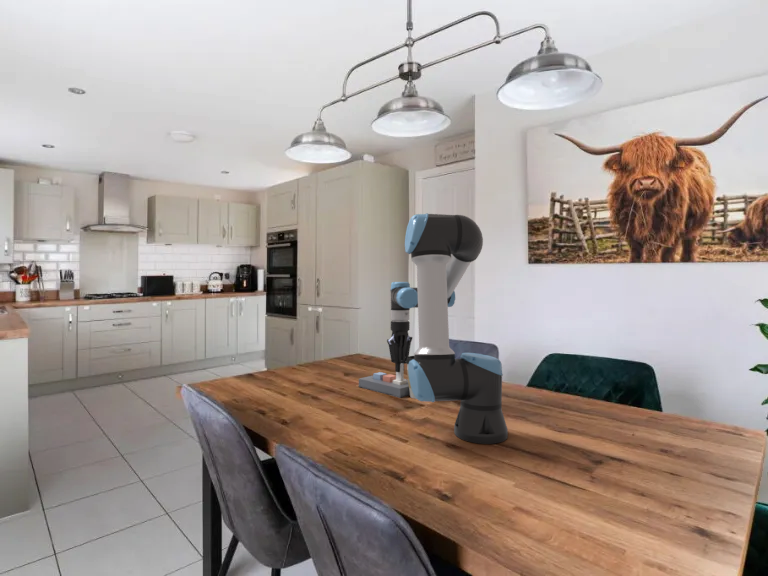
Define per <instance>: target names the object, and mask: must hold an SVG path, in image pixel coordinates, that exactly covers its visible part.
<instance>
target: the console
mask: <svg viewBox="0 0 768 576" xmlns="http://www.w3.org/2000/svg"><path fill="white" fill-rule="evenodd" d="M404 380H407V383H406V384H403V385H398V384H393V382H391V383H389V382H385V381H383V380H377V379H373V375H369V376H364V377H361V378H358V388H360V389H361V388H362V389H365V390H369V391H373V392H376V393H380V394H384V395H388V396H392V397H395V398H398V399H401V398H404V397H407V396H410V390H409V384H408V378H407V379H406V378H404Z"/></svg>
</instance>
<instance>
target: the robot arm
mask: <svg viewBox="0 0 768 576" xmlns="http://www.w3.org/2000/svg"><path fill="white" fill-rule="evenodd" d="M483 245H484V238H483V234H482V231H481V229H480V227H479V225H478V224H477V223H476V221H474V220H473V219H472V218H470V217H468V216H466V215H463V214H439V213H420V214H419V213H418V214H414V215H412V216H411V217H410V218H409V221H408V224H407V226H406V230H405V237H404V248H405V249H404V252H405V253H407V254H408V255H411V259H410V260H411V262H413V264H414V265H415V266H416V282H417V283H416V285H417V287H410V286H411V285H410V283H409V281H392V282H391V284H390V320H391V321H390V331H391V337H390V338H389V339H387V340H386V342H387V345H388V348H389V349H388V350H389V355H390V360H391V363H392V364H395V365H394V367H395V376H396V380H404V379H405V378H404V377H405V376H404V375H405V374H404V371H405V364H406V365H407V363H406V360H407V357H409V356H410V351H411V345H412V341H413V336H410V335H409V332H408V331H410V324H411V323H410V321H409V320H410V309H415V308H417V316H418V319H417V320H418V321H417V322H418V349H417V350H416V351H415V352H414V354H413V356H414V360H411V361H410V362H409V364H408V367H409V368H408V374H409V381H410V385H411V389H412V392H413V394H414V396H415V397H416V399H415V400H417V401H419V402H431V403H435V402H446V401H447V402H449V401H460V407H459V409H458V410H459V411H458V413H457V416H456V418H455V422H454V427H453V428H454V431H453V433H454V435H455V436H456V437H457V438H458V439H460V440H462V441H466V442H470V443H474V444H479V445H480V444H482V445H483V444H484V445H485V444H486V445H487V444H488V445H492V444H499V443H502V442H504V441H506V440H507V439H508V432H509V431H508V426H507V422H506V420H505V417H504V416H505V415H504V413H503V410H502V402H503V401H502V398H503V395H502V394H503V390H502V389H503V375H504V374H503V367H502V362H501V361H500V359H499V358H497V357H494V356H492V355H487V354H482V353H476V352H475V353H474V352H462V353H461V354H460V356H459V357H460V358H456V353H455V351H454V350H453V349H452V348H451V347H450V332H449V329H450V328H449V311H448V310H449V308H452V307H454V306H455V303H456V292H455V290H456V288H457V286H458V285H459V282H461V280H462V278H463V276H464V274H466V272H467V270H468V268H469V266H470V264H471V263H473V262H474V261H476V260H477V259H478V258H479V256H480V254H481V252H482V249H483Z"/></svg>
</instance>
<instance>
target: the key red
mask: <svg viewBox="0 0 768 576" xmlns="http://www.w3.org/2000/svg"><path fill="white" fill-rule="evenodd" d="M393 380H396V374H391V373H389V374H387V375H384V376H383V381H385V382H389V383H391V382H393Z"/></svg>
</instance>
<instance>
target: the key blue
mask: <svg viewBox="0 0 768 576" xmlns="http://www.w3.org/2000/svg"><path fill="white" fill-rule="evenodd" d="M372 374H373V375H372V376H373V379H377V380H383V376H384V375H388V374H387V373H385V372H382V371H379V372H374V373H372Z"/></svg>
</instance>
